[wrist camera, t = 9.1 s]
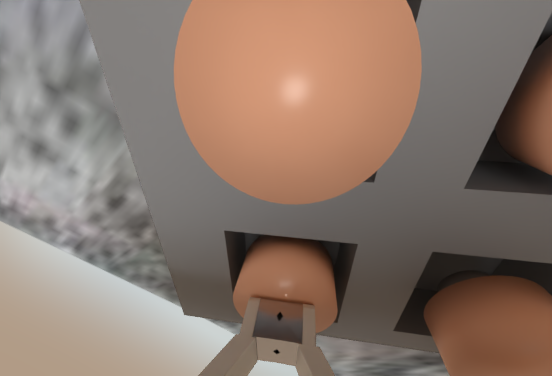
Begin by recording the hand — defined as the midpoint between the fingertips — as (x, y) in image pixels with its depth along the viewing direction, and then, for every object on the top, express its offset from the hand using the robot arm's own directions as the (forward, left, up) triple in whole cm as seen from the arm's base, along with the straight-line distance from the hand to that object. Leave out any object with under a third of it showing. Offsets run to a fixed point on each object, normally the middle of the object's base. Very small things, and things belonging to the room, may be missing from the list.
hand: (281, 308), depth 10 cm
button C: (-9, 0, -2) cm, 9 cm away
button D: (0, 0, -4) cm, 4 cm away
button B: (0, -9, -2) cm, 9 cm away
